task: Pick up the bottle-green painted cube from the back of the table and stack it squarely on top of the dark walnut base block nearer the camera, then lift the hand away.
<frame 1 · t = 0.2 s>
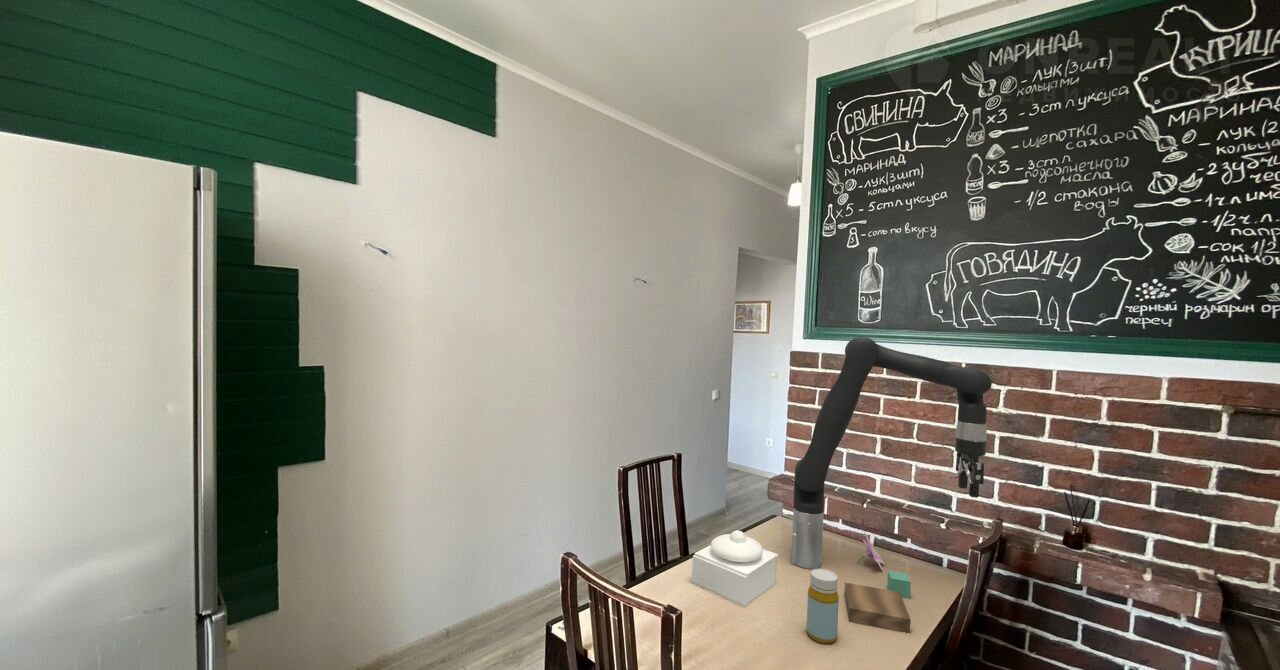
hand: (968, 492, 147), 29 cm above the table, fingers open, 8 cm apart
butter dish: (734, 584, 146), on the table
bottle: (821, 636, 122), on the table
walnut base: (874, 614, 133), on the table
green cube: (898, 593, 144), on the table
lily: (871, 567, 160), on the table
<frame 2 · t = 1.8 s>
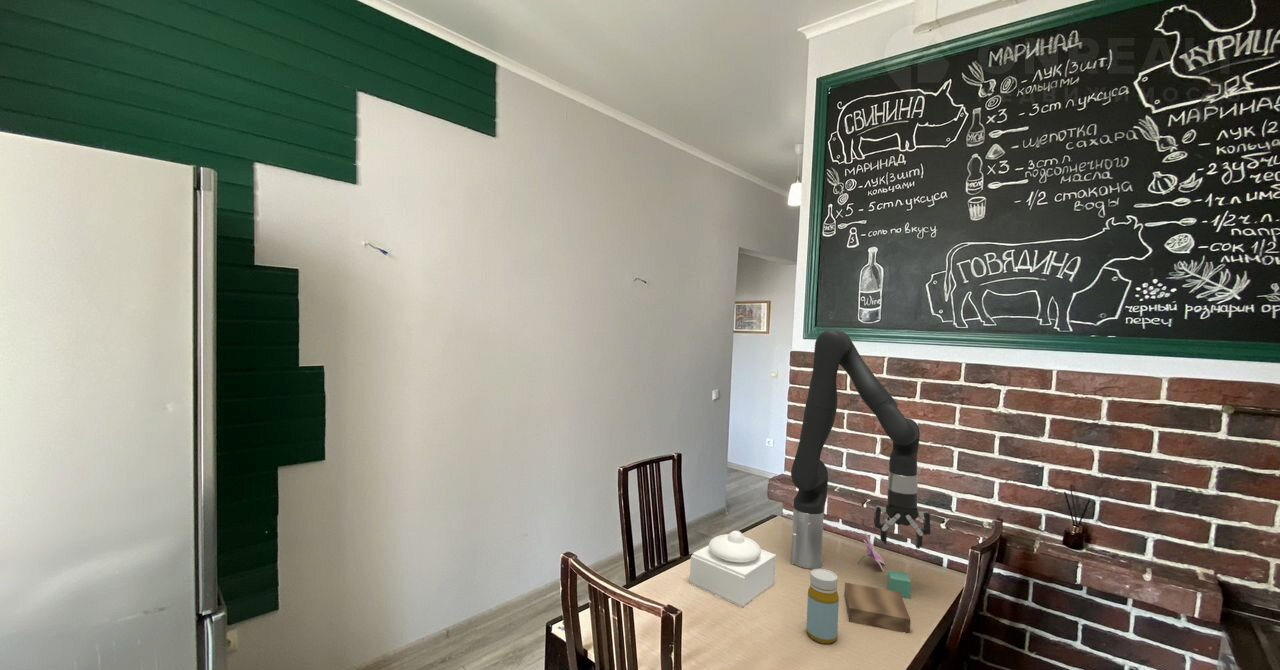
hand: (900, 545, 144), 14 cm above the table, fingers open, 8 cm apart
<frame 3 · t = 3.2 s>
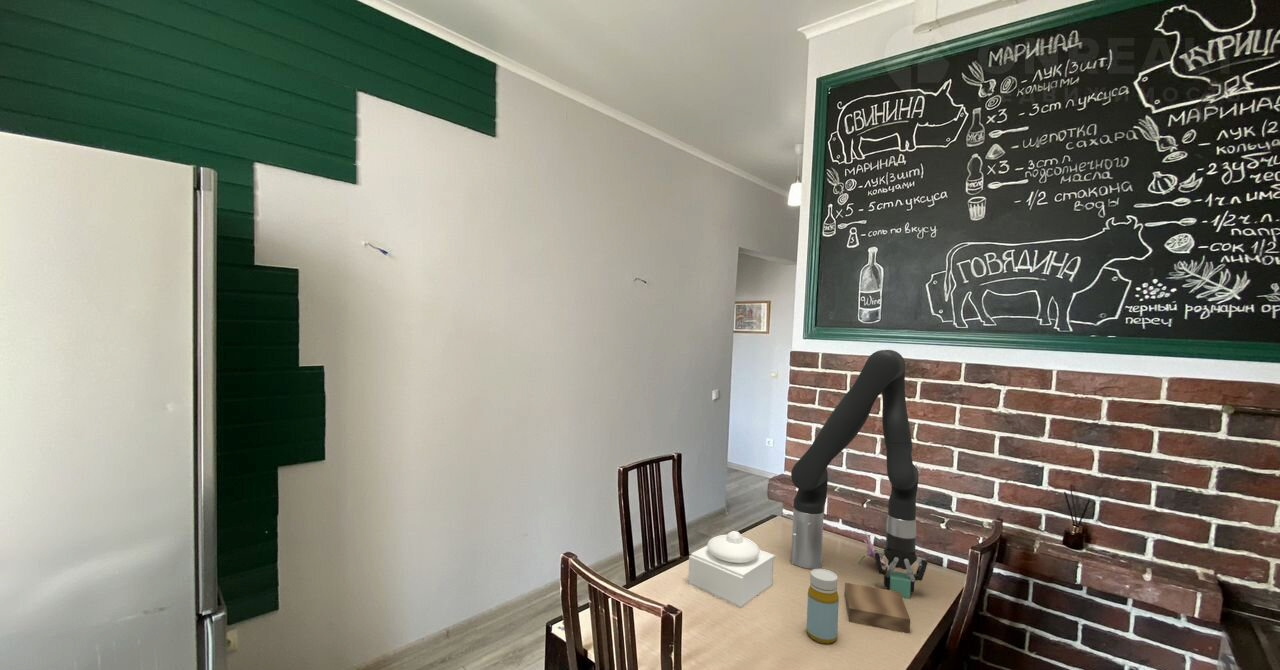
hand: (898, 590, 144), 1 cm above the table, fingers closed on green cube, 5 cm apart
green cube: (898, 593, 144), on the table, touching gripper
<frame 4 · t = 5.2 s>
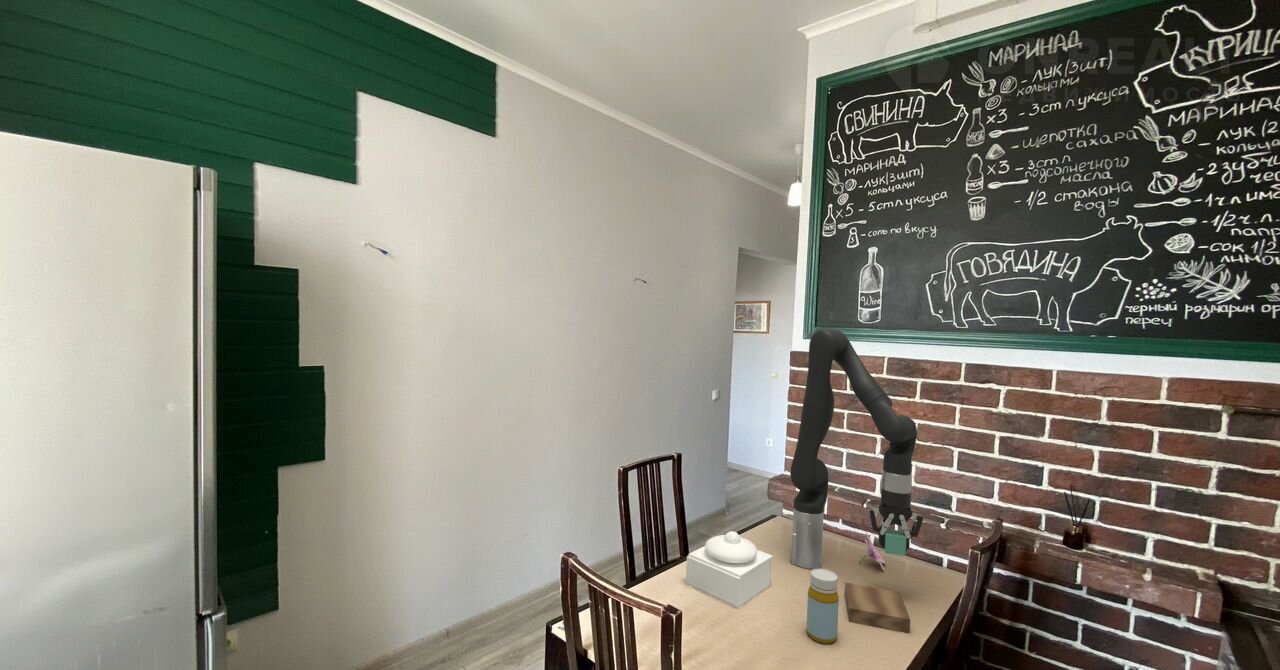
hand: (893, 548, 140), 14 cm above the table, fingers closed on green cube, 5 cm apart
green cube: (893, 550, 140), point 14 cm above the table, touching gripper
when the fingers open (6 cm above the table, at t = 7.4 s): green cube drops 2 cm, point 3 cm above the table.
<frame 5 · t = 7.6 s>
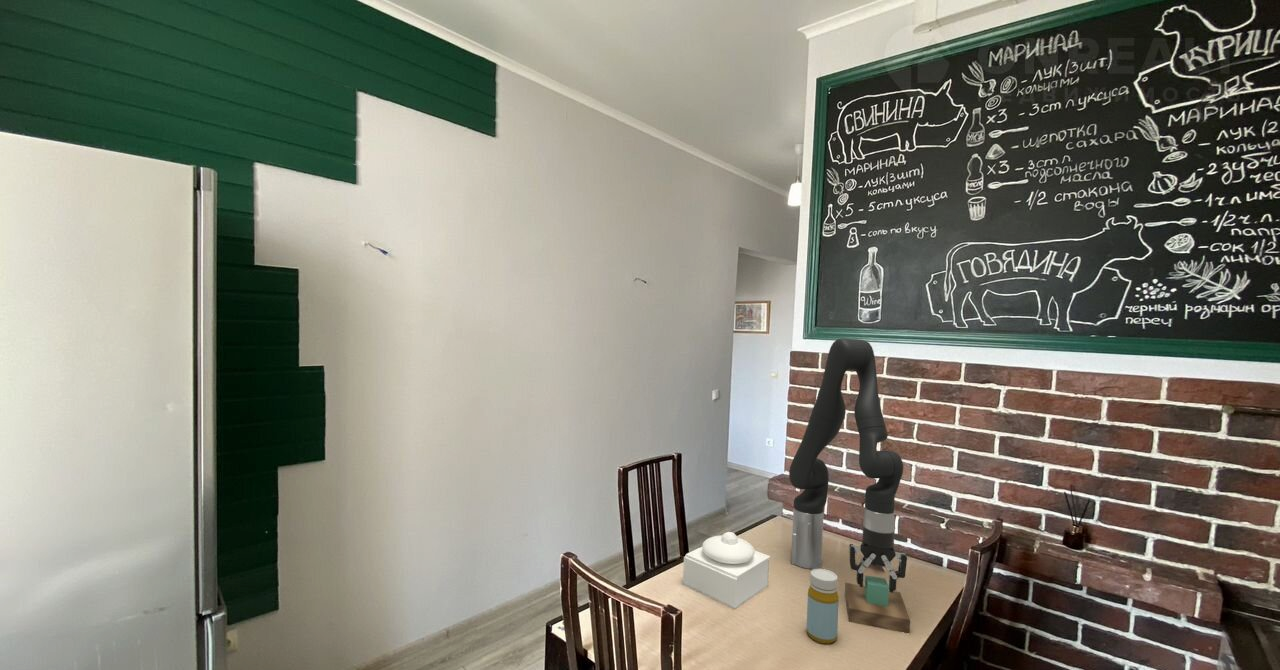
hand: (875, 588, 133), 7 cm above the table, fingers open, 6 cm apart
green cube: (875, 600, 133), point 3 cm above the table
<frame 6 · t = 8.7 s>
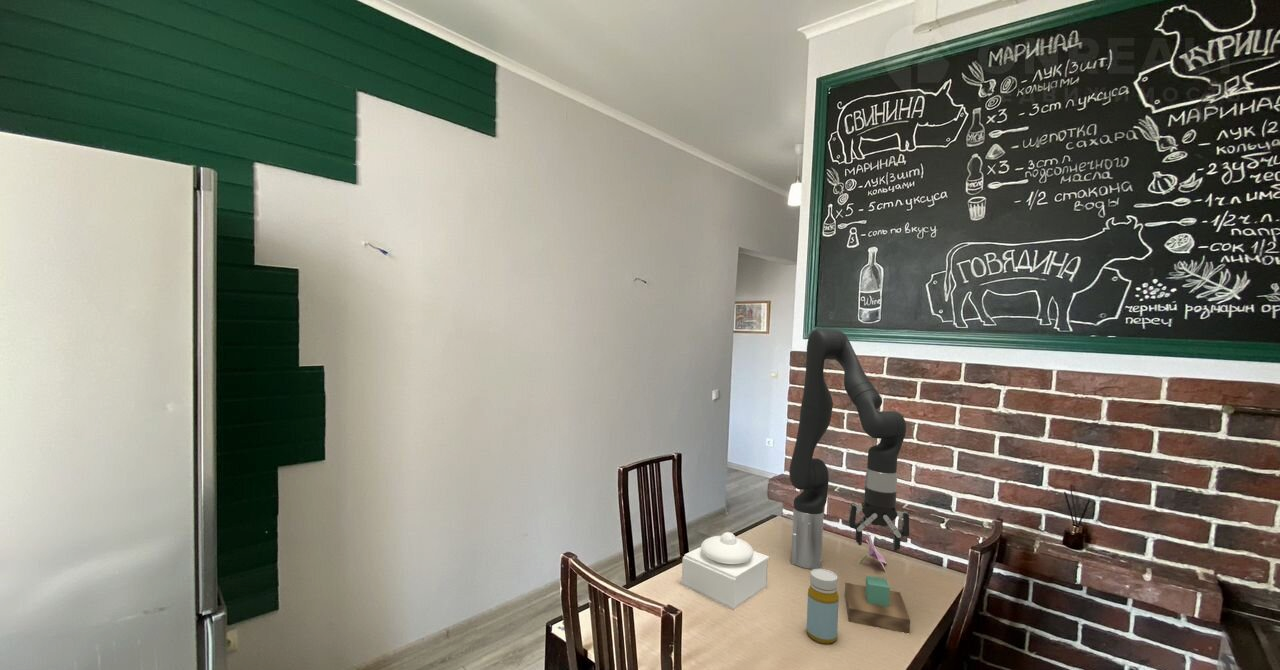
hand: (877, 547, 133), 18 cm above the table, fingers open, 8 cm apart
walnut base: (874, 614, 133), on the table, touching green cube
green cube: (876, 600, 133), point 3 cm above the table, touching walnut base
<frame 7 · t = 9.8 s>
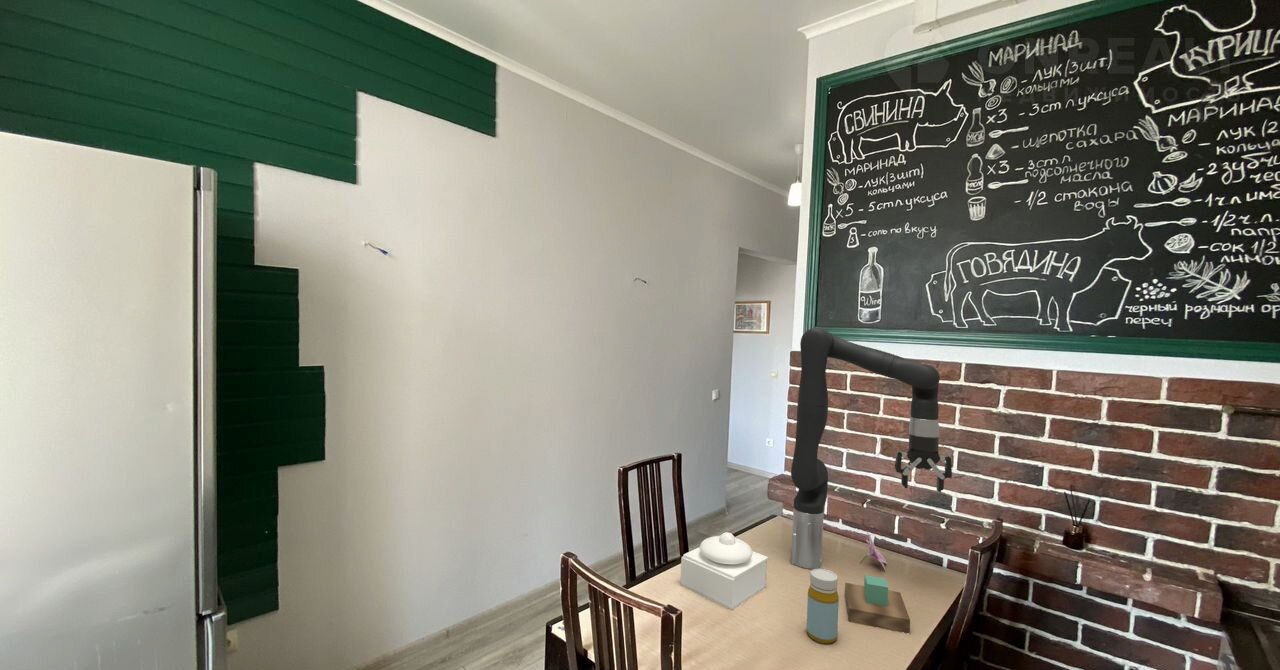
hand: (922, 489, 145), 30 cm above the table, fingers open, 8 cm apart
walnut base: (874, 615, 133), on the table
green cube: (875, 599, 133), point 3 cm above the table
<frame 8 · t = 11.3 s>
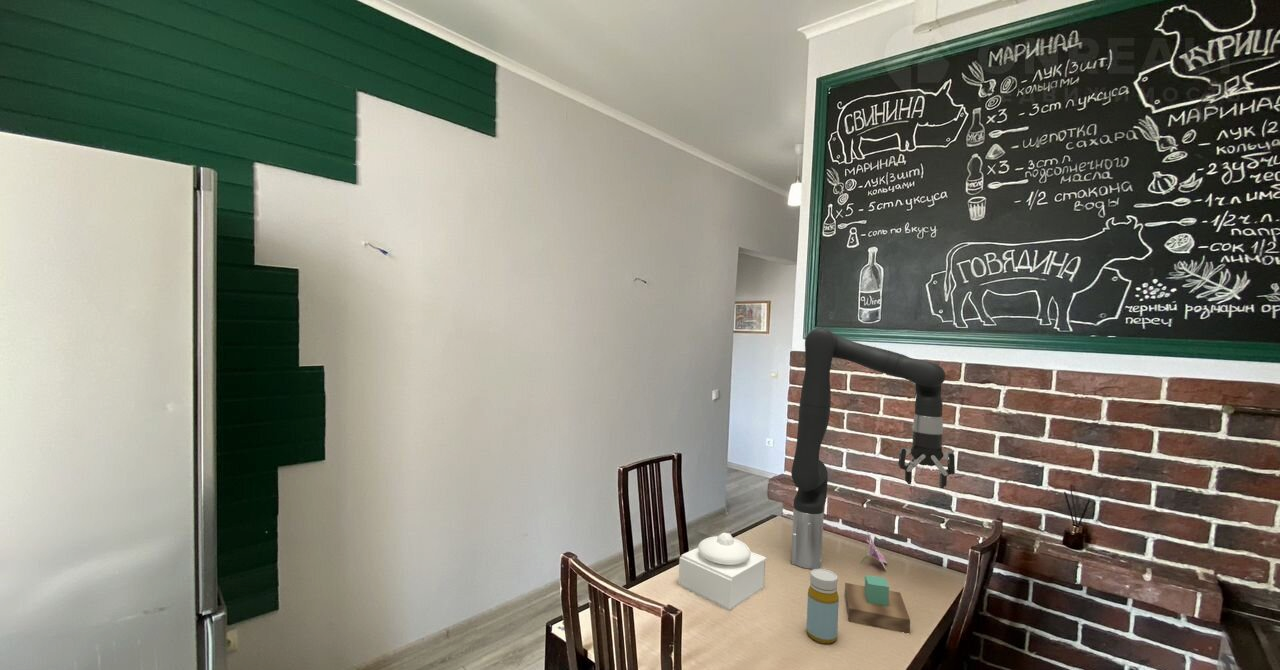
hand: (925, 485, 147), 30 cm above the table, fingers open, 8 cm apart
at the end: green cube 0.3 cm off-centre on the walnut base, point 4.0 cm above the walnut base's base; green cube tilted 0°; the gripper is holding nothing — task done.
